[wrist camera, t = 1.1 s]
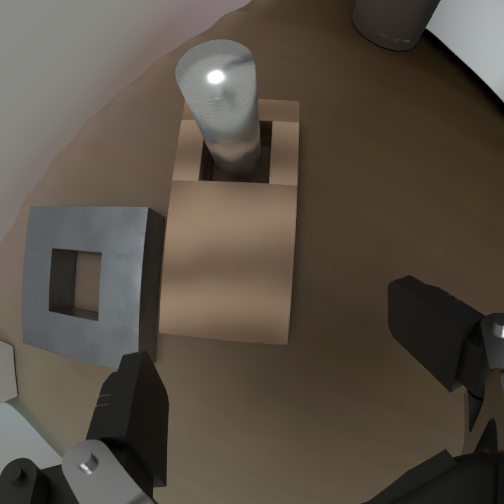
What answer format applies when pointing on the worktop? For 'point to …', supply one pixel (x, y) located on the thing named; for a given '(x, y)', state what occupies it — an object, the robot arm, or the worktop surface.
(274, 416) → the worktop surface
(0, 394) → the milk carton
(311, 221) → the worktop surface
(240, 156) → the axle
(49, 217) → the holder
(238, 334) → the wooden block with hole
